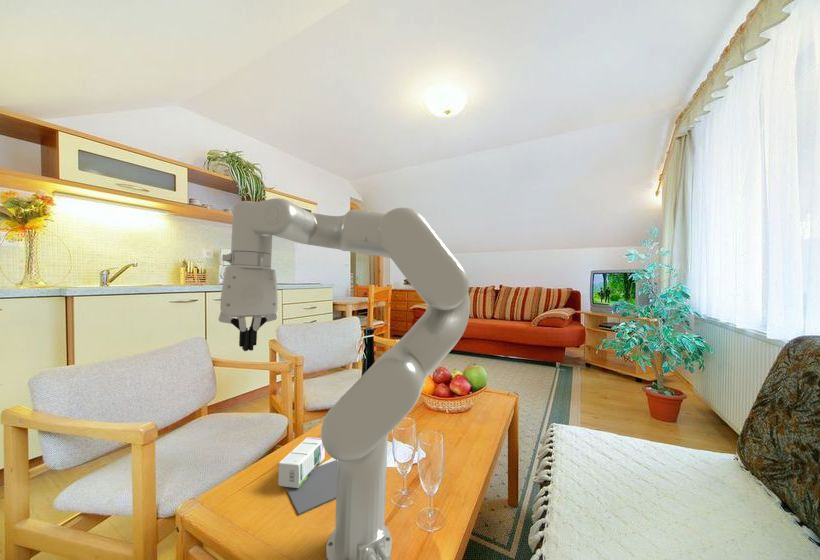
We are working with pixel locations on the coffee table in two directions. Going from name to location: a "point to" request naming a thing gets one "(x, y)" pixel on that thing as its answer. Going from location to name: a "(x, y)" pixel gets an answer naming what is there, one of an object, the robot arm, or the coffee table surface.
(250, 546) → the coffee table surface
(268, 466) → the coffee table surface
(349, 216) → the robot arm
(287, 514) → the coffee table surface
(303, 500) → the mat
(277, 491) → the coffee table surface
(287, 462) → the syrup box
